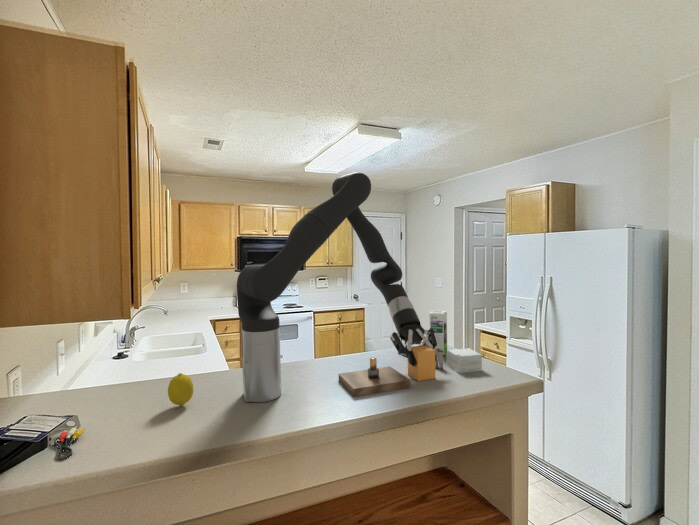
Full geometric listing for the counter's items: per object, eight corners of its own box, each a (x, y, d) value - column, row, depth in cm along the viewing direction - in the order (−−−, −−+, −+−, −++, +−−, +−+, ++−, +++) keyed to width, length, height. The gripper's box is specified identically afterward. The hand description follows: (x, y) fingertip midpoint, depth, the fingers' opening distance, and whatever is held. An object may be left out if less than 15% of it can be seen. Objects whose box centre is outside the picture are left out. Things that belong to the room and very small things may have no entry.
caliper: (443, 369, 110) (443, 348, 110) (440, 370, 109) (440, 349, 109) (399, 353, 127) (399, 336, 127) (397, 354, 127) (397, 336, 126)
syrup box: (429, 354, 125) (429, 312, 124) (431, 349, 130) (430, 309, 130) (446, 355, 123) (446, 313, 123) (447, 350, 129) (447, 310, 128)
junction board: (354, 396, 90) (353, 388, 90) (338, 380, 101) (338, 373, 101) (410, 387, 96) (410, 379, 95) (390, 373, 107) (389, 366, 107)
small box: (469, 363, 115) (469, 347, 115) (482, 371, 107) (482, 354, 107) (446, 365, 113) (446, 349, 113) (457, 373, 106) (457, 356, 106)
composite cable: (72, 460, 65) (71, 446, 65) (38, 467, 63) (37, 453, 63) (86, 434, 74) (85, 423, 74) (57, 440, 72) (56, 428, 72)
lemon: (169, 403, 88) (168, 371, 88) (194, 400, 90) (193, 368, 90) (167, 413, 83) (165, 378, 83) (193, 409, 85) (192, 375, 85)
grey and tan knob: (370, 379, 96) (370, 360, 96) (366, 375, 99) (365, 357, 99) (380, 377, 97) (380, 359, 97) (376, 374, 100) (375, 356, 100)
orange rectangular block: (418, 380, 100) (417, 352, 100) (408, 374, 105) (407, 347, 105) (435, 378, 102) (435, 349, 102) (424, 371, 107) (424, 345, 107)
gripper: (386, 309, 107) (406, 360, 97) (428, 305, 112) (451, 353, 102) (379, 323, 113) (397, 373, 102) (419, 319, 118) (441, 366, 107)
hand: (424, 363), depth 102 cm, fingers closed on orange rectangular block, 5 cm apart
